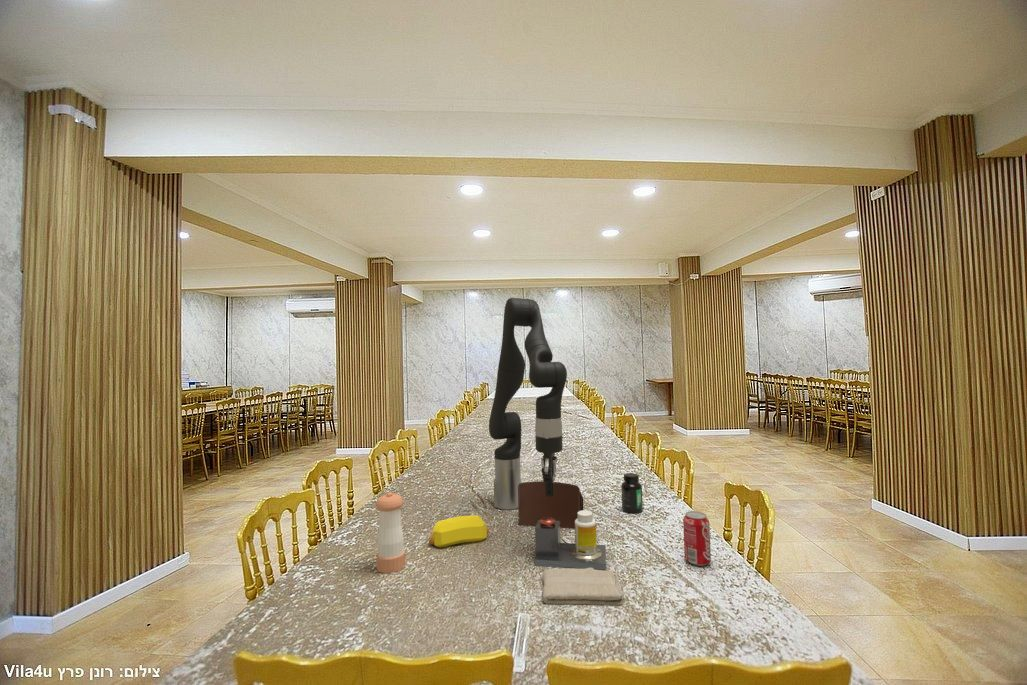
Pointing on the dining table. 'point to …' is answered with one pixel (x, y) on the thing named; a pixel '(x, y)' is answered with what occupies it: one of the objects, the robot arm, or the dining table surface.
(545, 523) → the pin
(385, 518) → the pepper shaker
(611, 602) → the washcloth
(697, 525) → the beverage can
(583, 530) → the supplement bottle
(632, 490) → the supplement bottle
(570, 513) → the letter holder
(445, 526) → the yellow sponge block
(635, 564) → the dining table surface
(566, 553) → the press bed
